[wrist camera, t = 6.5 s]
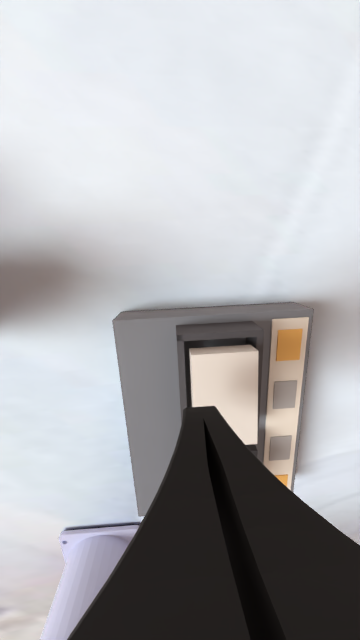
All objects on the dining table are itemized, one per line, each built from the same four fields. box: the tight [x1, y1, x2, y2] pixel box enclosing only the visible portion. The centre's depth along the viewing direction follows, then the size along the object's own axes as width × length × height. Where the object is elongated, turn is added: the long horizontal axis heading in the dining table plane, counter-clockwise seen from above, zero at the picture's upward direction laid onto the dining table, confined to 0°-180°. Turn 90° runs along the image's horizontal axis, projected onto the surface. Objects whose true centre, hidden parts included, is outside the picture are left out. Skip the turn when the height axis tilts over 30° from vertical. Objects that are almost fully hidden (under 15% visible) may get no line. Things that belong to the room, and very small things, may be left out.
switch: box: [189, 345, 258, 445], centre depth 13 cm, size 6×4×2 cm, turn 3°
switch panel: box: [113, 302, 313, 516], centre depth 17 cm, size 17×13×4 cm
